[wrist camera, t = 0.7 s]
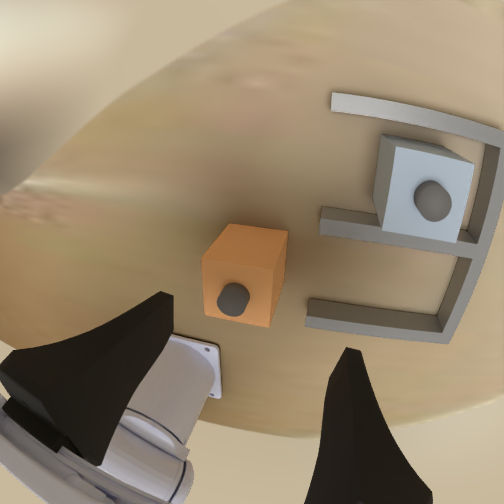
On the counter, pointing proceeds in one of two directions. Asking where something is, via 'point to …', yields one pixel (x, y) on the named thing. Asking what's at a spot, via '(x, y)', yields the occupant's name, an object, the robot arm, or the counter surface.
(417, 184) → the seated plug
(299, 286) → the counter surface
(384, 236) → the e-shaped shelf rack
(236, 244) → the orange plug
